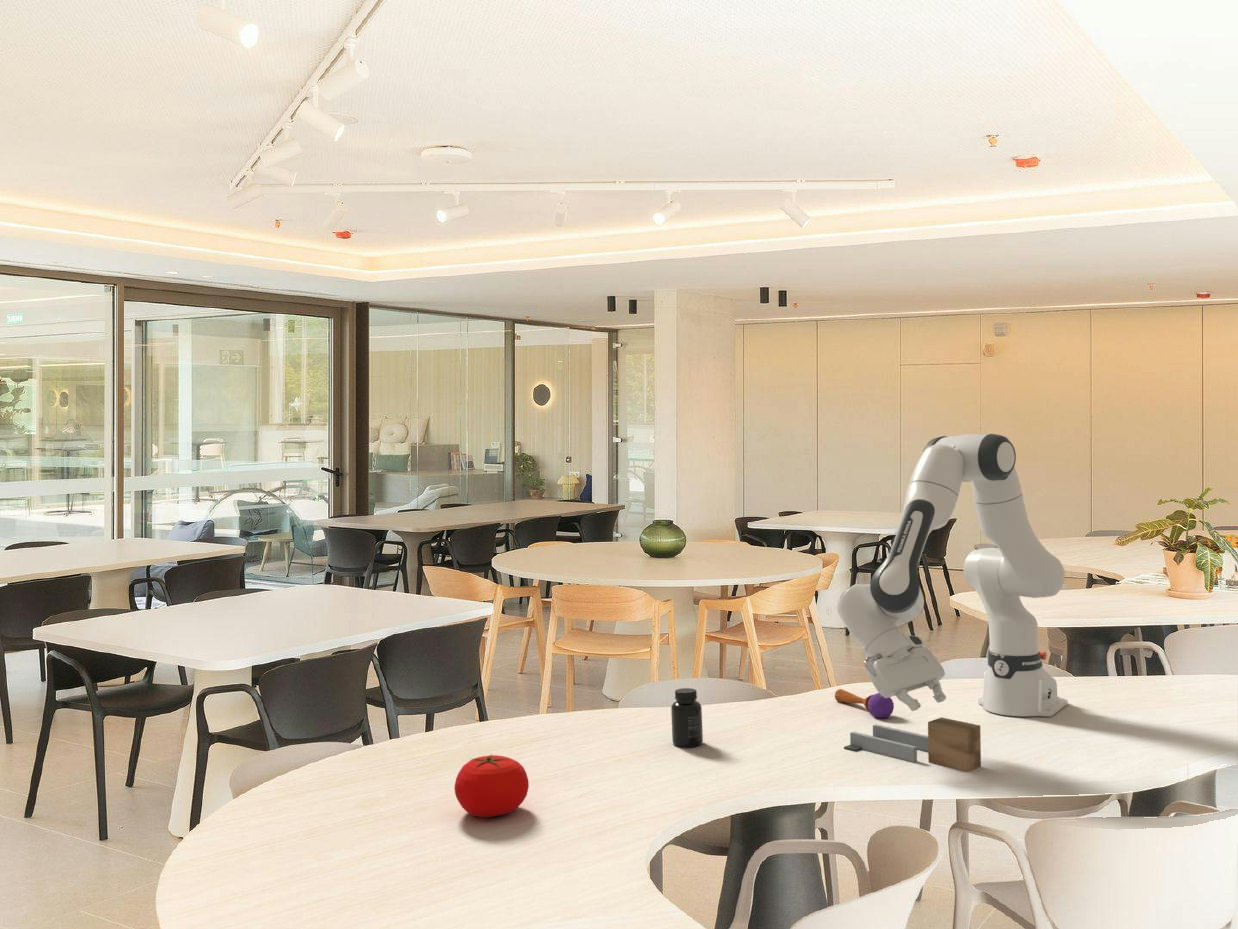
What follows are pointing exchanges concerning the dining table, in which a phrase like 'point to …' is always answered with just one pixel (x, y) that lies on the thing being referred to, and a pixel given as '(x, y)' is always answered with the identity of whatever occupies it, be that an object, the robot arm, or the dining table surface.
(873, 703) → the purple maraca
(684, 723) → the supplement bottle
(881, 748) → the channel
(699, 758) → the dining table surface
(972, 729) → the block
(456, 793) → the tomato
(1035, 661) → the robot arm
